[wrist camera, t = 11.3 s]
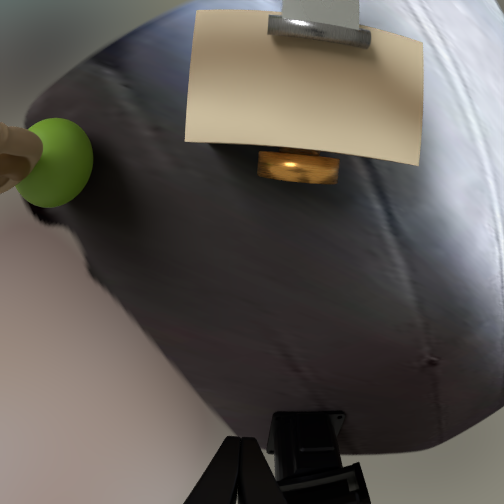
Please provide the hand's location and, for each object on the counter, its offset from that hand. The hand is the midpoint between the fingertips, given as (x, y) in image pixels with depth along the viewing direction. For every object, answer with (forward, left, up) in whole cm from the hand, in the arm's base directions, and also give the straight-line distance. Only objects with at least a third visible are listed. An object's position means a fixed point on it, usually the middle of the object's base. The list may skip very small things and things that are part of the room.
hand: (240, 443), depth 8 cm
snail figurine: (+7, +12, -13) cm, 19 cm away
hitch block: (+11, -2, -13) cm, 17 cm away
